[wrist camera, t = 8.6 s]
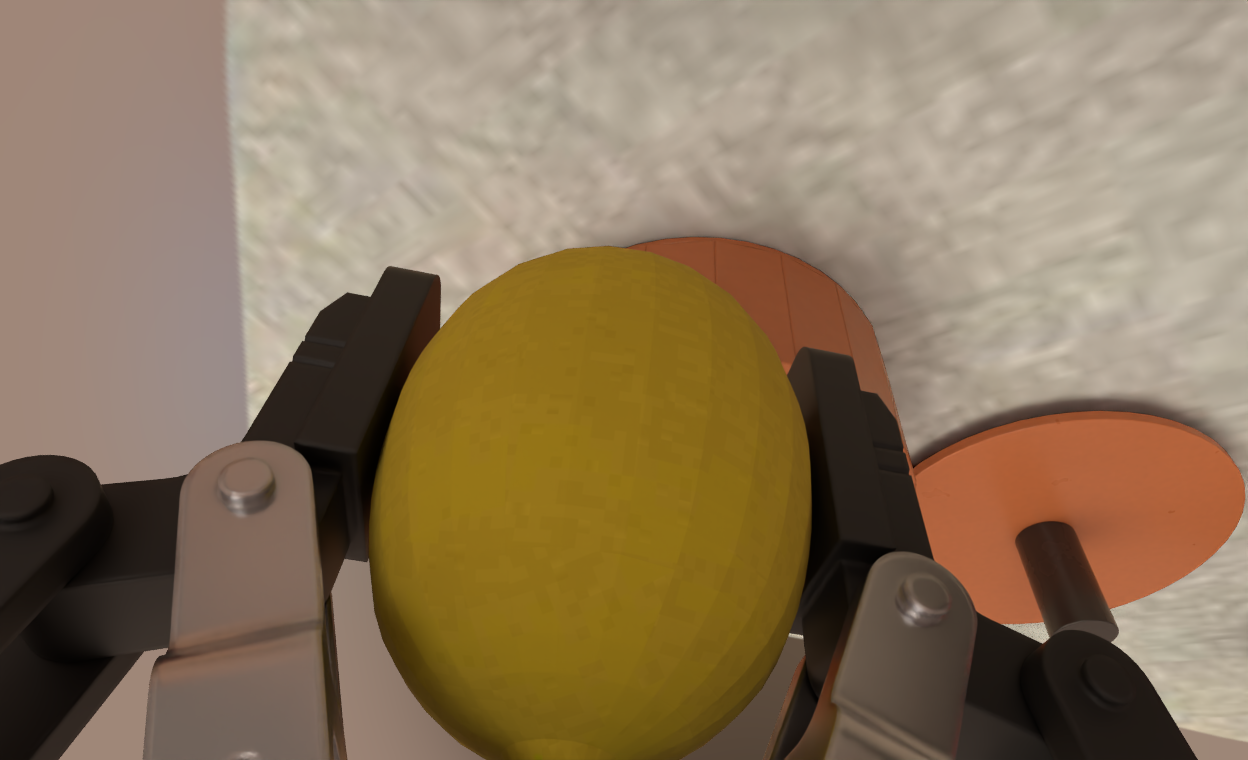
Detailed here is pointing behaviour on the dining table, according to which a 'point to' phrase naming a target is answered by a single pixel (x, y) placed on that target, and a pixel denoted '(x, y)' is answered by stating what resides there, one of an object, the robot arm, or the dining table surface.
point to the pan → (788, 305)
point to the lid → (1077, 514)
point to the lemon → (591, 512)
